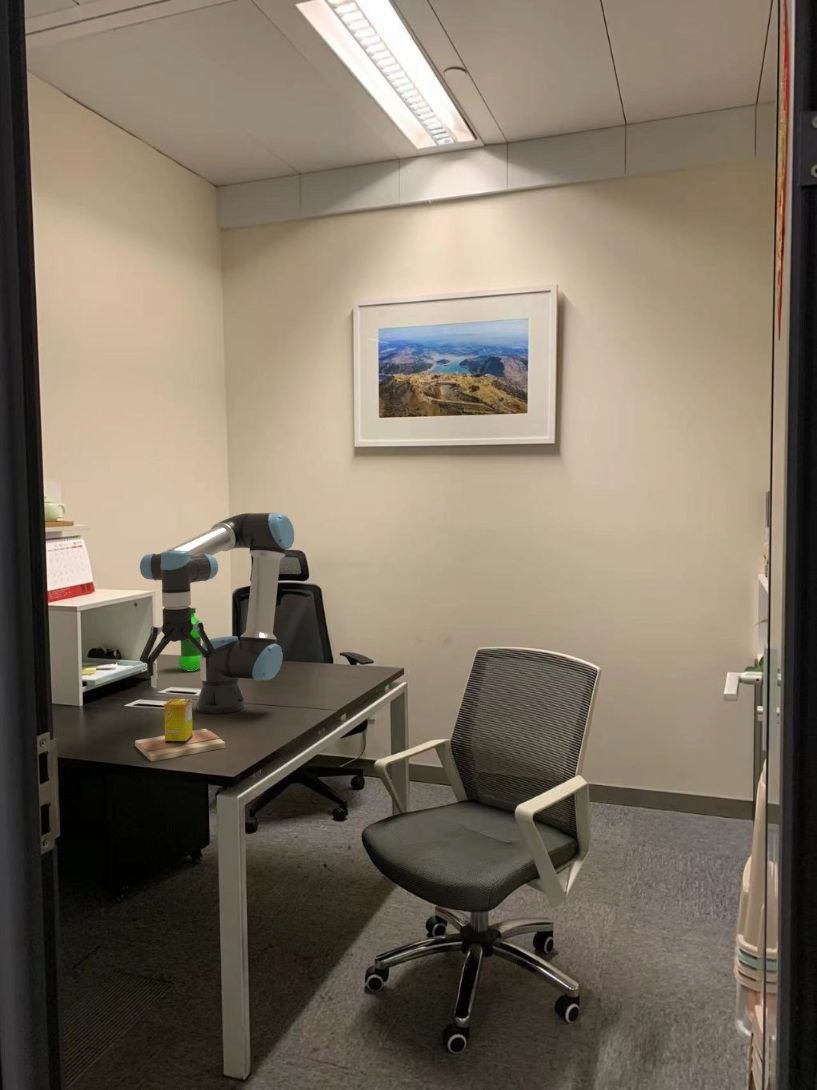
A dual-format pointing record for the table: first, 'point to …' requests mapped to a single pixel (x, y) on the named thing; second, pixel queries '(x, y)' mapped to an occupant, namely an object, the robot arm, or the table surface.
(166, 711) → the supplement box
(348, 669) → the table surface
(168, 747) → the board
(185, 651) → the plastic bottle
